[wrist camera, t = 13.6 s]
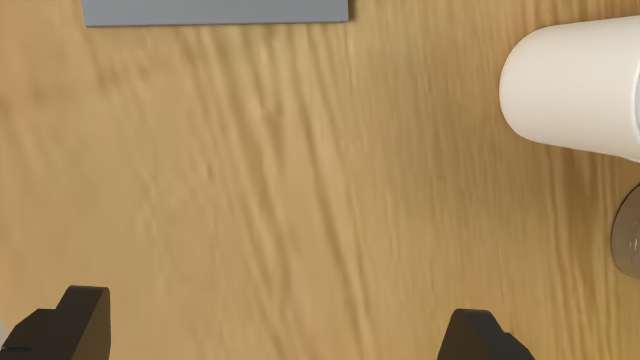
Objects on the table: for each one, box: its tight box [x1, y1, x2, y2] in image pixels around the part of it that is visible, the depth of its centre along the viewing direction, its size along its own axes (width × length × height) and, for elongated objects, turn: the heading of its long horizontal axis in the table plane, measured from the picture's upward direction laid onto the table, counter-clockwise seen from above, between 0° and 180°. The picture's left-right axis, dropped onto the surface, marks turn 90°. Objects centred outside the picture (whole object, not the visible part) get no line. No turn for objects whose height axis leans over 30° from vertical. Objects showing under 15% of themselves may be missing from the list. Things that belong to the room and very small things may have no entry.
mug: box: [499, 15, 640, 163], centre depth 31 cm, size 12×8×10 cm
